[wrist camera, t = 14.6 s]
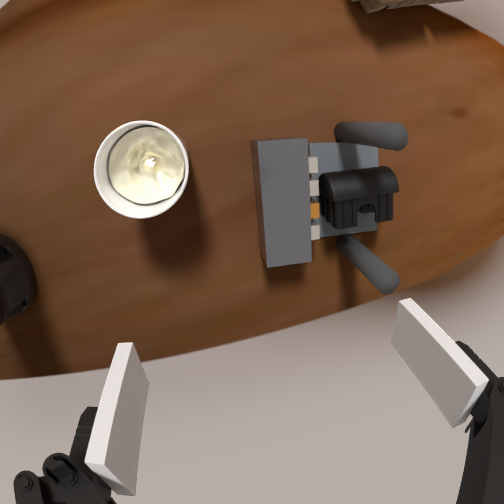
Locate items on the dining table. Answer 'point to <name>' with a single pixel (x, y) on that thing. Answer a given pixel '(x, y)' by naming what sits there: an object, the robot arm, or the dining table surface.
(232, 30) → the dining table surface
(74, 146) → the dining table surface
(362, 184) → the black rounded block
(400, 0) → the block tower
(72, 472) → the robot arm
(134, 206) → the candle holder
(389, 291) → the post
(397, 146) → the post
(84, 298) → the dining table surface
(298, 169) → the breaker panel
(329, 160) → the mat
